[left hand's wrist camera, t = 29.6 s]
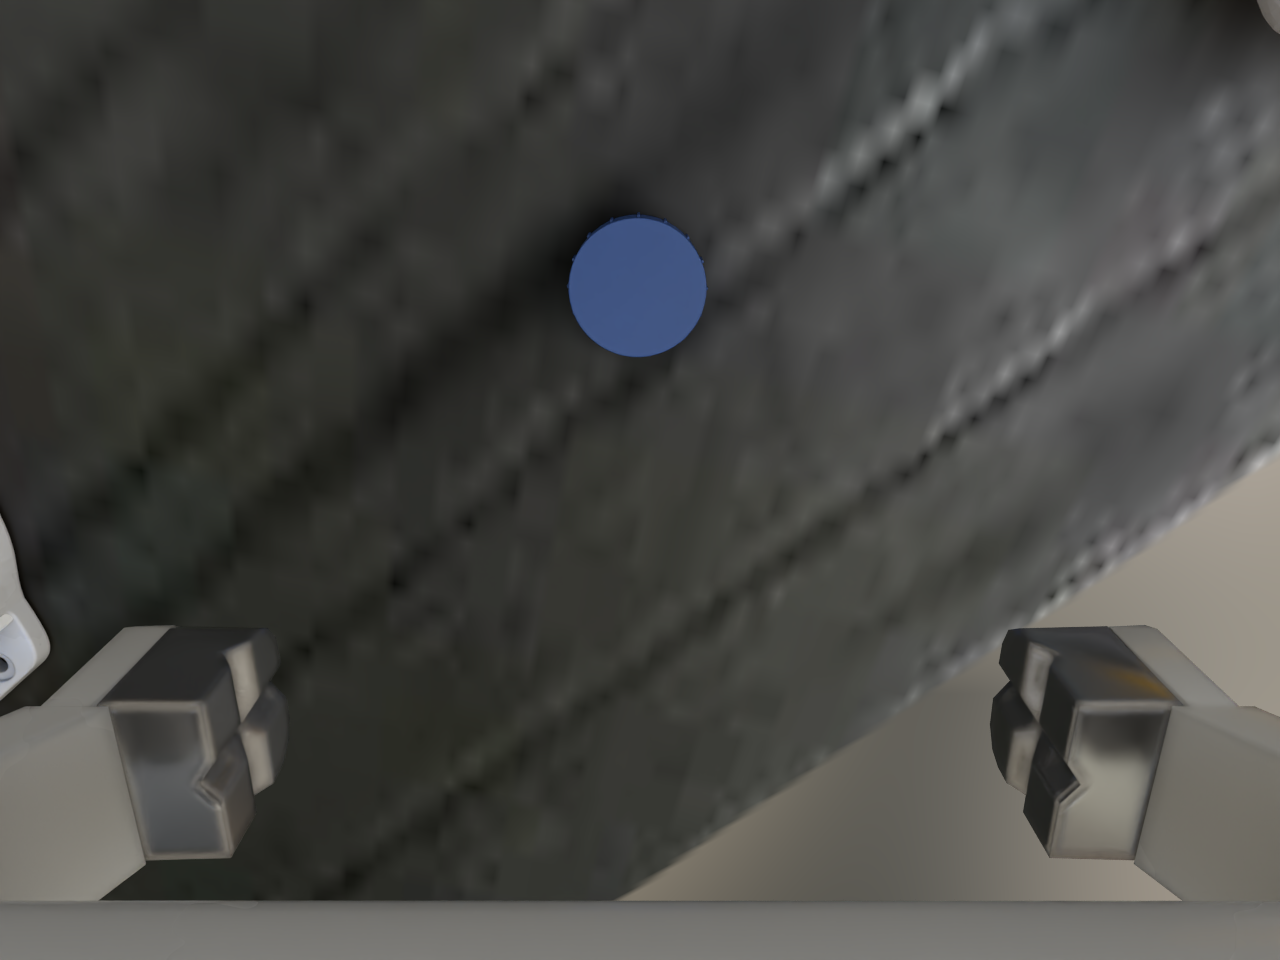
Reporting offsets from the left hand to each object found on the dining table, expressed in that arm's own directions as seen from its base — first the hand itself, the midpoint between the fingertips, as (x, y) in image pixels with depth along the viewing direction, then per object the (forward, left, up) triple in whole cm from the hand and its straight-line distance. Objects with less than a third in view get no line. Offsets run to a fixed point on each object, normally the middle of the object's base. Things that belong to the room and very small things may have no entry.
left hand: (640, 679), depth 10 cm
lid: (0, 0, -28) cm, 28 cm away
